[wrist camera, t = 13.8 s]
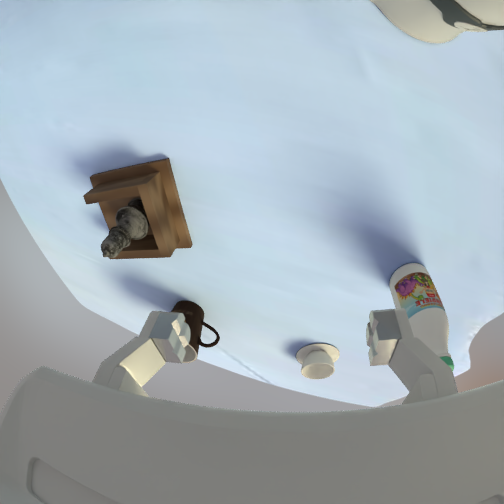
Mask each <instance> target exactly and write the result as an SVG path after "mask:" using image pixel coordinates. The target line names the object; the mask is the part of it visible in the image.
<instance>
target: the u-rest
mask: <svg viewBox="0 0 504 504" xmlns="http://www.w3.org/2000/svg"><path fill="white" fill-rule="evenodd" d="M90 180H91V183H92V186H93V189H91V190H90V191H89V192H88V193H86V194H85V195H84V196H83V197H84V199H85V202H86V204H92V203H97V202H99V205H100V208H101V210H102V213H103V215H104V218H105V221H106V223H107V226H108V228H109V230H110V229H111V228H112V227H115V226H116V221H115V216H116V213H117V211H118V210H119V209H120V208H121V207H124V206H128V203H129V202H130V201H131V200H132V199H134V198H141V200H142V203H143V206H144V209H145V212H146V215H147V218H148V221H149V224H150V226H149V227H148V233H147V234H146V236H145V237H143V238H142V239H139V240H134V239H131V240H130V244H129V246H127V247H125V248H123V249H122V250H121V252H120V253H119V254H118V256H116V257H115V258H110V259H131V258H163V257H171V255H172V253H173V252H174V250H175V249H176V248H191V246H192V241H191V238H190V234H189V231H188V227H187V224H186V220H185V217H184V213H183V210H182V206H181V202H180V199H179V195H178V191H177V188H176V184H175V180H174V176H173V172H172V168H171V164H170V160H169V158H168V159H163V160H157V161H152V162H147V163H142V164H137V165H133V166H128V167H124V168H119V169H115V170H111V171H107V172H102V173H98V174H95V175H92V176H91V177H90Z"/></svg>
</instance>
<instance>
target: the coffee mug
mask: <svg viewBox="0 0 504 504" xmlns="http://www.w3.org/2000/svg"><path fill="white" fill-rule="evenodd" d="M171 312H175V313H183V315H184V317H185V320H184V322H185V323H187V324H188V325H189V328H190V333H191V334H190V341H189V344H188V345H187V346H186V347H184V349H185V351H186V353H185V356H184V359H183V362H182V363H190V362H193V361H195V360H196V359H197V355H198V349H199V345H201V346H203V347H212V346H215V345H216V344H217V343H218V341H219V339H220V337H219V334H218V332H217V331H216V330H215V329H214V328H213V327H211V326H210V325H208V324H206V323H205V322H203V319H204V311H203V310H202V308H201V307H200V306H199V305H197V304H195V303H193V302H191V301H179V302H177V303H176V305H175V306H174V308H173V309H172V311H171ZM202 325H204V326H205V327H207V328H209V329H210V330H212V331H213V332H214V333H215V334H216V336H217V338H216V340H215V341H214V342H213V343H211V344H204V343H202V342H201V339H200V337H201V331H202Z"/></svg>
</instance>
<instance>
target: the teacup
mask: <svg viewBox="0 0 504 504" xmlns="http://www.w3.org/2000/svg"><path fill="white" fill-rule="evenodd" d="M338 358H339V351H338V349H337V348H335V347H333V346H331V345H328V344H312V345H308V346H305V347H303V348H301V349H300V350H299V351H298V352H297V354H296V359H297V361H298V362H299V363H301V364H302V369H301V373H302V375H303V376H305V377H306V378H310V379H323V378H327V377H329V376H331V375H332V374H333V373H334V371H335V369H334V362H335V361H336V360H337V359H338Z"/></svg>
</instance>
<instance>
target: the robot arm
mask: <svg viewBox="0 0 504 504" xmlns="http://www.w3.org/2000/svg"><path fill="white" fill-rule="evenodd" d="M370 1H371V2H373V3H374V4H375V5H376V6H377V7H378V8H379V9H380V10H381V11H382V13H383V14H384V15H385V16H386V17H387V18H388V19H389V20H390V21H391V22H392V23H393V24H394V25H395V26H396V27H398V28H399V29H400V30H402V31H403V32H405V33H407V34H408V35H410V36H412V37H414V38H416V39H419V40H421V41H425V42H429V43H445V42H448V41H451V40H453V39H454V38H456V37H457V36H458V35H459V34H460V33H463V32H465V31H470V32H487V31H491V30H504V0H370ZM369 319H370V322H369V323H368V324H367V329H366V340H367V345H368V346H369V347H370V349H369V353H368V354H369V360H370V366H375V365H389V367H390V368H391V369H392V370H393V371H394V373H395V374H396V375H397V376H398V378H399V379H400V380H401V381H402V383H403V384H404V385H405V386H406V388H407V389H408V390H409V394H408V395H407V397H406V398H405V400H404V401H403V403H402V405H395V406H388V407H380V408H371V409H361V410H350V411H349V410H348V411H331V412H265V411H248V410H234V409H224V408H215V407H206V406H199V405H192V404H185V403H179V402H173V401H167V400H162V399H157V398H152V397H148V395H147V393H146V392H145V391H144V390H143V389H142V386H143V385H144V384H145V383H146V382H147V381H148V380H149V379H150V378H151V377H152V376H153V375H154V374H155V373H156V372H157V371H158V370H159V369H160V368H161V367H162V366H163V365H164V364H165V363H166V362H173V363H182V362H183V359H184V356H185V353H186V351H185V349H184V347H186V346H187V345H188V344H189V341H190V334H191V333H190V328H189V325H188V324H187V323H185V322H184V320H185V317H184V315H183V313H175V312H163V311H162V312H161V311H152V312H151V313H150V314H149V316H148V318H147V320H146V322H145V325H144V327H143V329H142V331H141V333H140V335H139V337H135V338H134V339H132V340H131V341H130V342H128V343H127V344H126V345H124V346H123V347H122V348H120V349H119V350H117V351H116V352H115V353H114V354H112V355H111V356H109V357H108V358H107V359H105V360H104V361H103V362H102V363H101V365H100V367H99V369H98V371H97V373H96V375H95V377H94V379H93V381H92V382H89V381H85V380H83V379H79V378H77V377H74V376H71V375H68V374H64V373H62V372H59V371H56V370H54V369H51V368H49V367H45V366H42V367H39V368H37V369H36V370H34V371H32V372H31V373H29V374H28V375H26V376H25V377H24V378H22V379H21V380H20V381H19V382H18V384H17V385H16V387H15V388H14V390H13V391H12V393H11V395H10V396H9V398H8V400H7V402H6V404H5V405H4V407H3V409H2V411H1V413H0V504H504V380H501V381H498V382H495V383H492V384H489V385H486V386H482V387H479V388H476V389H472V390H468V391H465V392H461V393H458V391H457V387H456V383H455V379H454V375H453V372H452V369H451V368H450V367H449V366H448V365H447V364H446V363H445V362H444V361H443V360H442V359H441V358H440V357H438V356H437V355H436V354H435V353H434V352H433V351H432V350H431V349H430V348H428V347H427V346H426V345H425V344H424V343H423V342H422V341H421V340H420V339H418V338H417V337H415V338H414V335H413V332H412V329H411V325H410V322H409V319H408V316H407V313H406V310H405V309H404V308H399V309H386V310H374V311H371V312H370V315H369Z"/></svg>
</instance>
